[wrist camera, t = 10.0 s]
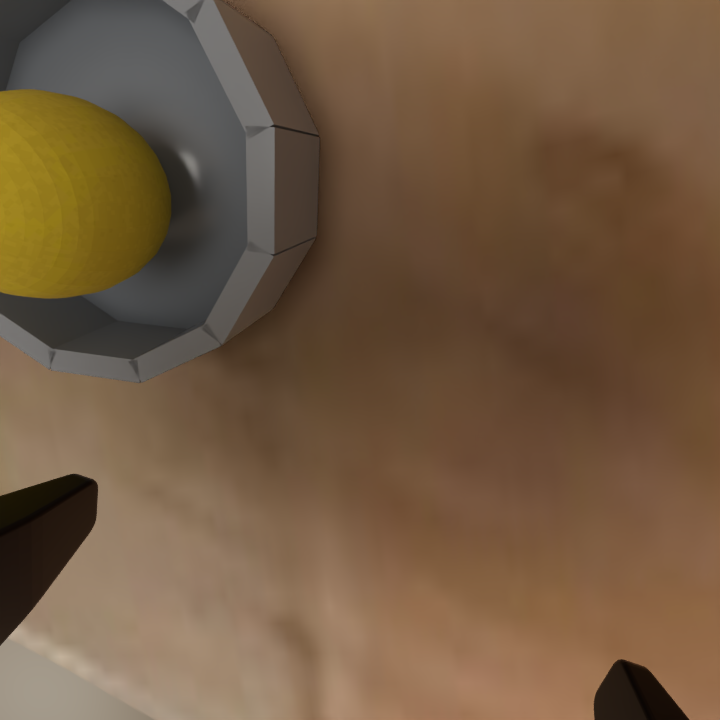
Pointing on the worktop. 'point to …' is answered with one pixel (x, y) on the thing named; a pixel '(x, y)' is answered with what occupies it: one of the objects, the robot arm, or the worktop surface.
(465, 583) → the worktop surface
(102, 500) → the worktop surface
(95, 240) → the lemon
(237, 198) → the bowl
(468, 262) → the worktop surface
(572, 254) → the worktop surface
